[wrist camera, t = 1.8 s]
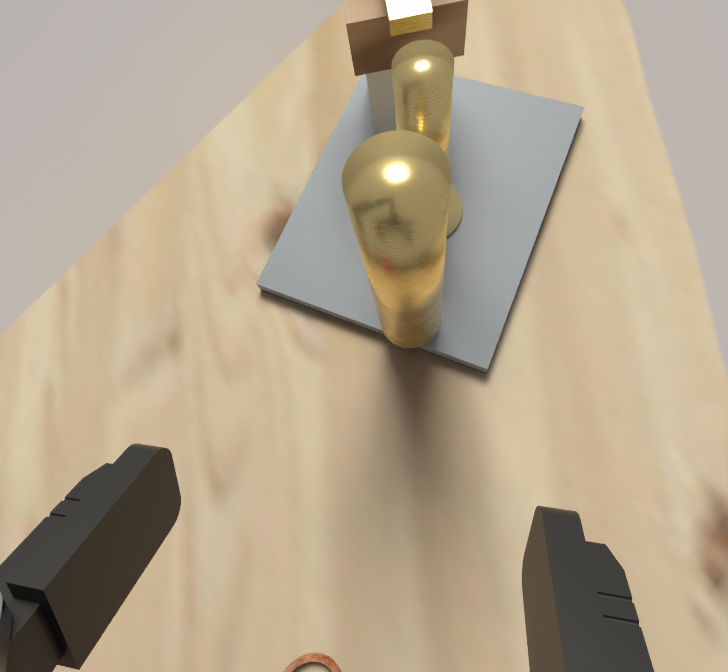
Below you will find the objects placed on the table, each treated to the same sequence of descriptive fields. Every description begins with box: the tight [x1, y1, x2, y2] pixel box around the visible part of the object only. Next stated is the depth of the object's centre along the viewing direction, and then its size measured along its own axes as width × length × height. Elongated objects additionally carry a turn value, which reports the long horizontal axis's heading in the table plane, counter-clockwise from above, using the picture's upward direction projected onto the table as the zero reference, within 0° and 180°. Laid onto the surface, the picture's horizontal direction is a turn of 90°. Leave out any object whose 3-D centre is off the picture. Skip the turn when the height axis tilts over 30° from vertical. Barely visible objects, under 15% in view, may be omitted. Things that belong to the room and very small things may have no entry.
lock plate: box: [257, 69, 584, 373], centre depth 27 cm, size 14×17×7 cm
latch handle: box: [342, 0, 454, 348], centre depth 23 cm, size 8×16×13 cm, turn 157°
